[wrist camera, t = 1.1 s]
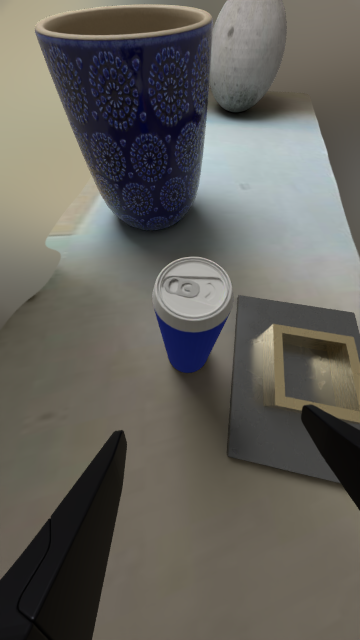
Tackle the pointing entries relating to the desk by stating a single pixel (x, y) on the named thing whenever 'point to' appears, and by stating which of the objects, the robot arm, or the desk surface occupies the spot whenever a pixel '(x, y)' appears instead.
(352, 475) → the robot arm
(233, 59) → the moon model
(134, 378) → the desk surface
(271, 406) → the plate
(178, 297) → the beverage can
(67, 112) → the planter
